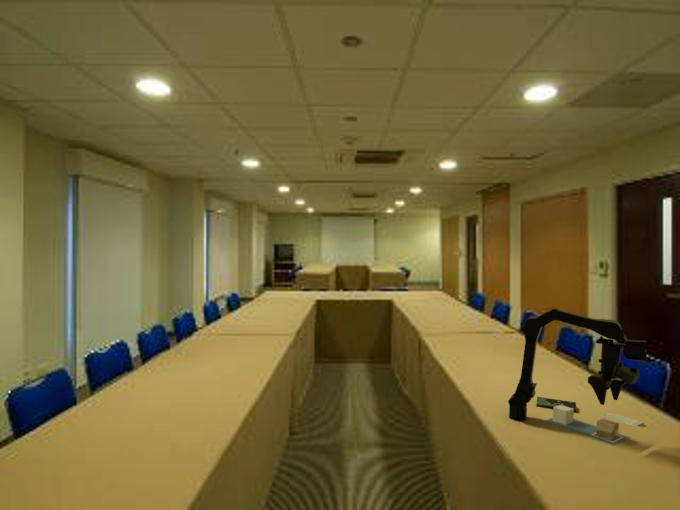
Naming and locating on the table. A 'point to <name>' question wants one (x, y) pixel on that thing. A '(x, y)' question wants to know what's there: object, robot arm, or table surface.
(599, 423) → the maple cube
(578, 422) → the board
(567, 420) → the cream cube
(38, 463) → the table surface
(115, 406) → the table surface
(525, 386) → the robot arm
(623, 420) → the hard drive
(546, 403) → the disk drive
